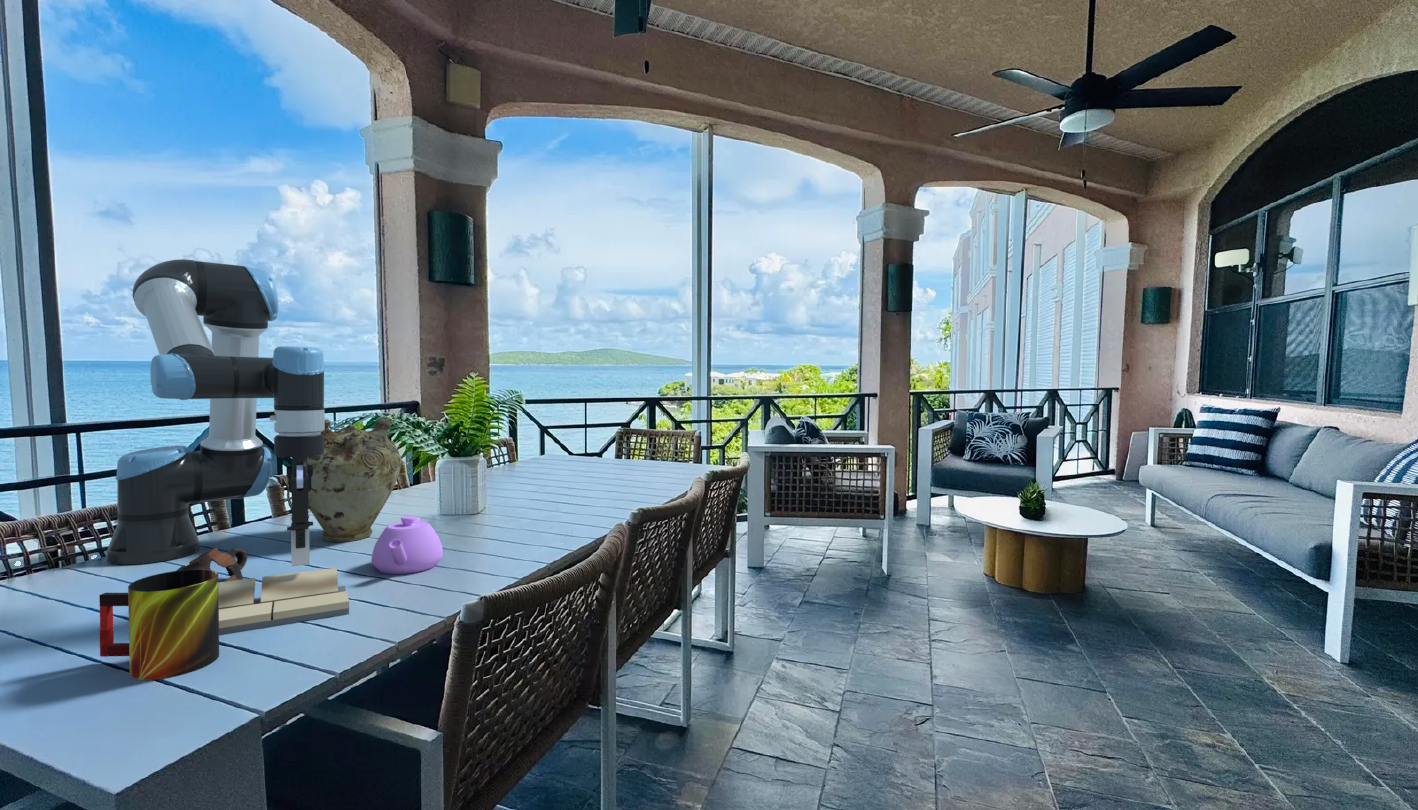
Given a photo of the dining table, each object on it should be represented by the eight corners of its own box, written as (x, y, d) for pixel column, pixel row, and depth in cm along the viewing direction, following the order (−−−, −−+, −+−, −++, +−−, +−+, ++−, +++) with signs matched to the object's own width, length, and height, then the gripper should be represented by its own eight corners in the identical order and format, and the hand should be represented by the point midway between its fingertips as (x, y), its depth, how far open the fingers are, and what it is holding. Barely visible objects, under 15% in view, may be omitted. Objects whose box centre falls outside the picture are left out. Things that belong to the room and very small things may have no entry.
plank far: (262, 582, 111) (262, 576, 111) (336, 572, 117) (336, 567, 117) (260, 607, 107) (260, 602, 106) (338, 596, 113) (338, 591, 112)
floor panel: (164, 616, 105) (164, 603, 105) (344, 590, 119) (344, 579, 119) (148, 645, 94) (148, 631, 94) (349, 613, 108) (349, 601, 108)
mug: (102, 662, 89) (100, 578, 88) (224, 643, 95) (223, 565, 95) (75, 693, 80) (73, 600, 80) (212, 670, 87) (211, 585, 86)
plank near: (171, 593, 105) (170, 588, 104) (255, 583, 111) (254, 577, 110) (165, 621, 100) (164, 615, 99) (253, 608, 106) (252, 603, 106)
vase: (394, 543, 147) (381, 415, 146) (283, 556, 142) (268, 425, 141) (418, 522, 170) (407, 411, 168) (323, 533, 165) (310, 419, 164)
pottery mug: (223, 599, 114) (193, 563, 112) (184, 617, 116) (155, 581, 114) (270, 563, 126) (245, 530, 124) (235, 580, 128) (209, 547, 126)
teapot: (356, 584, 123) (356, 530, 122) (384, 554, 142) (384, 508, 142) (432, 580, 126) (432, 528, 125) (449, 552, 145) (449, 506, 145)
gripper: (275, 431, 115) (276, 557, 116) (272, 437, 104) (273, 577, 105) (323, 429, 119) (324, 552, 120) (325, 436, 108) (326, 571, 110)
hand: (300, 564), depth 113 cm, fingers closed
